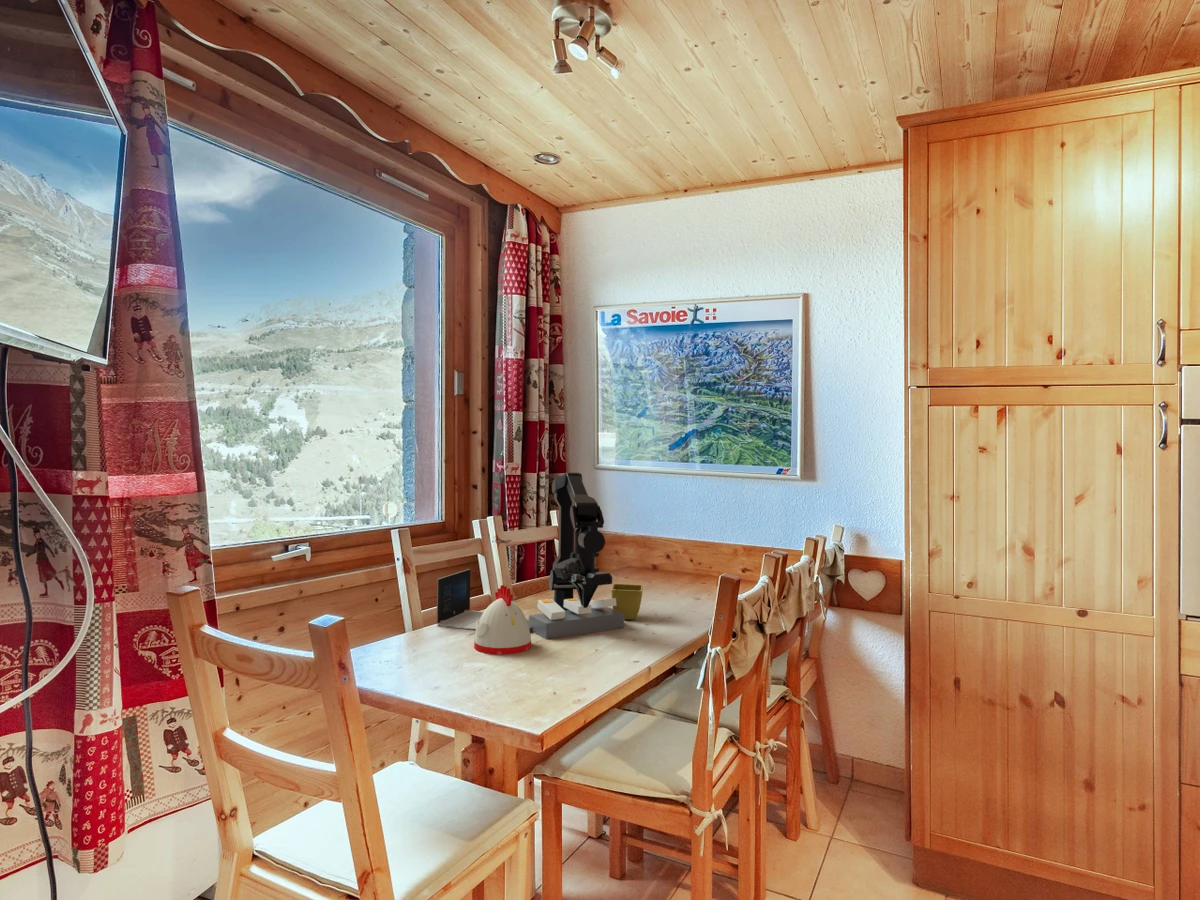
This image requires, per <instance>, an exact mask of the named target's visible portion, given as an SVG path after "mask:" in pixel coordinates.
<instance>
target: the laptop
mask: <svg viewBox="0 0 1200 900" xmlns="http://www.w3.org/2000/svg"><path fill="white" fill-rule="evenodd" d="M436 583H437V584H436V585H437V586H436V589H437V590H436V626H437V627H440V628H453V629H463V630H475V631H476V622H477V620H480V618H481V616H482V614H483V613H484V611H479V610H471V569H470V568H468V569H465V570H462V571H458V572H456V573H452V574H449V575H446V576H443V577H439V578H437V580H436Z"/></svg>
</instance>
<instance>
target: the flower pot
mask: <svg viewBox="0 0 1200 900" xmlns="http://www.w3.org/2000/svg"><path fill="white" fill-rule="evenodd" d="M643 589H644V585H643V584H630V583H612V587H611V598H616V604H617V606H612V609H614V610H617V611H620V612H623V613H624V620H631V621H635V620H636V619H637V616H638V615H639V612H640V609H641V604H642V597H643Z"/></svg>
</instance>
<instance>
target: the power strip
mask: <svg viewBox="0 0 1200 900" xmlns="http://www.w3.org/2000/svg"><path fill="white" fill-rule="evenodd" d="M528 617H529V620H530V629H529V631H530V633H534V634H536V635H538V636H539V637H541V638H543V639H545V640H549V639H555V638H562V637H569V636H575V635H577V636H578V635H582V634H590V633H598V632H604V631H612V630H618V629H624V628H625V619H624V613H623V612H620V611H617V610H614V609H613V607H610V606H609V607H596V608H591V613H584V614H577V613H575V612H573V611H571V610H567V611H565V618H563V619H556V620H550V619H549V618H548V617H547V616H546V615H545V614H544V613H543V612H542V613H536V614H528Z"/></svg>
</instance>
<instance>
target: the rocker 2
mask: <svg viewBox="0 0 1200 900" xmlns="http://www.w3.org/2000/svg"><path fill="white" fill-rule="evenodd" d="M564 607H565V608H567V609H569V610H571V611H573V612H575V613H577V614H584V613H591V605H590V604H589V605H588V607H587V608H584V607H583V606H581V602H580V599H579V598H577V597H573V599H565V600H564Z"/></svg>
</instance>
